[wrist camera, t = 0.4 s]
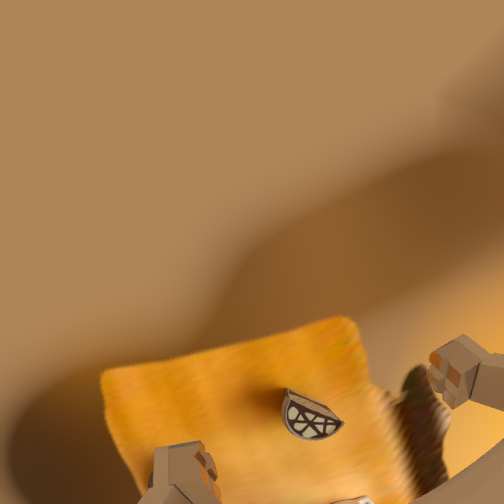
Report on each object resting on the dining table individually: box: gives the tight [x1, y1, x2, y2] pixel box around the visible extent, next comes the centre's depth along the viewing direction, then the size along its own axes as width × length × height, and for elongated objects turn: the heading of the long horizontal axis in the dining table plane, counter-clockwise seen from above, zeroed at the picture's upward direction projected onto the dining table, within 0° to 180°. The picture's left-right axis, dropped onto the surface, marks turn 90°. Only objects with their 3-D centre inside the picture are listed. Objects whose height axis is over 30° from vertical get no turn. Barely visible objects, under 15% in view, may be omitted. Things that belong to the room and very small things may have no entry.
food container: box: [281, 388, 344, 441], centre depth 54 cm, size 12×6×10 cm, turn 61°
